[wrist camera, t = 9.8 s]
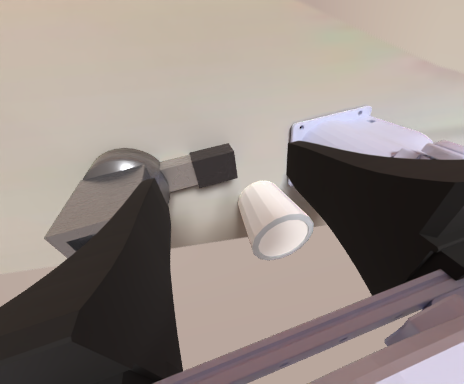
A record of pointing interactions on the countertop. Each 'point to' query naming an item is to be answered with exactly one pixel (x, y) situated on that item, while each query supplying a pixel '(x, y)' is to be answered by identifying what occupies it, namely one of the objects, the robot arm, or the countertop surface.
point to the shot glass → (273, 221)
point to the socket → (93, 208)
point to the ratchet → (172, 167)
